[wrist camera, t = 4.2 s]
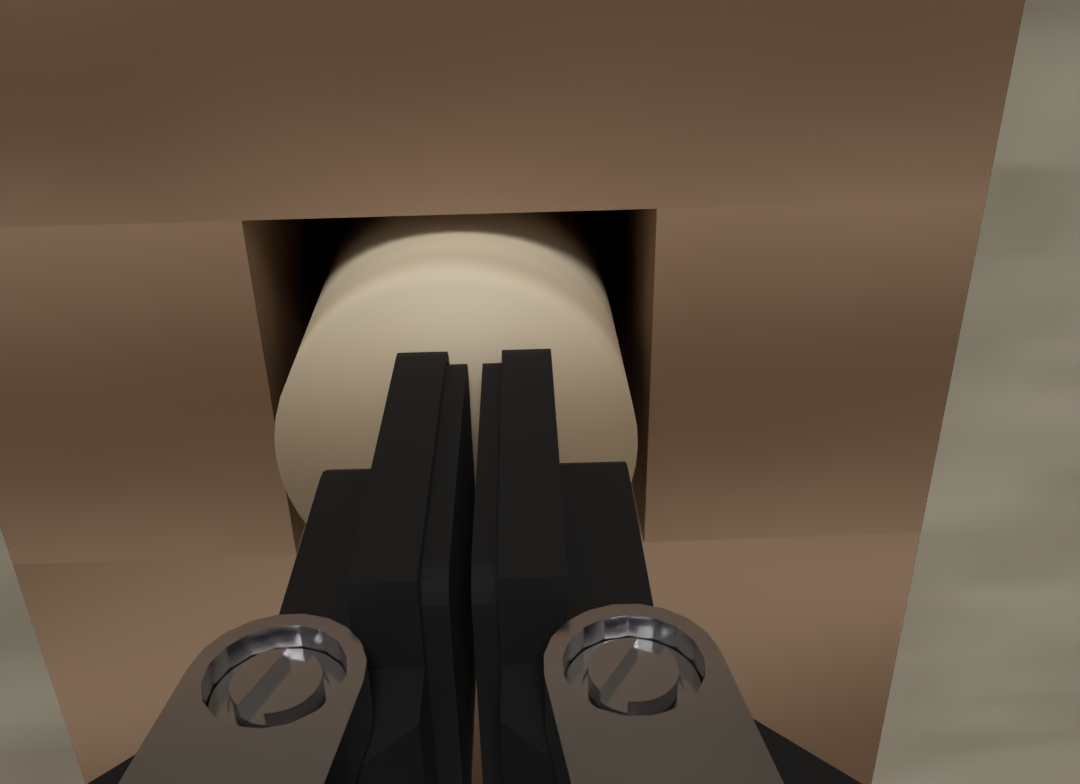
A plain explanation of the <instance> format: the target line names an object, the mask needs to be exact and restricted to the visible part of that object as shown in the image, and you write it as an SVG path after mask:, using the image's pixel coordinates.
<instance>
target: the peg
mask: <svg viewBox="0 0 1080 784" xmlns="http://www.w3.org/2000/svg"><path fill="white" fill-rule="evenodd" d="M519 349H551V356H552V369H553V382H554V395H555V408H556V421H557V434H558V447H559V461H560V463H581V462H616V461H625V462H626V463H627V466H628V470H629V476H630V481H631V482H632V478H633V474H634V470H635V467H636V459H637V449H638V437H637V423H636V418H635V413H634V408H633V404H632V399H631V395H630V391H629V386H628V382H627V378H626V373H625V369H624V365H623V360H622V356H621V352H620V347H619V343H618V339H617V334H616V330H615V326H614V321H613V317H612V313H611V308H610V304H609V300H608V295H607V291H606V287H605V283H604V278H603V274H602V270H601V265H600V261H599V257H598V252H597V248H596V244H595V239H594V235H593V231H592V226H591V223H590V220H589V218H588V215H587V212H586V211H560V212H525V213H490V214H455V215H420V216H385V217H350V219H349V222H348V224H347V227H346V229H345V232H344V234H343V237H342V240H341V242H340V245H339V247H338V250H337V252H336V255H335V258H334V260H333V263H332V265H331V268H330V270H329V273H328V276H327V278H326V281H325V283H324V286H323V288H322V291H321V293H320V296H319V299H318V301H317V304H316V306H315V309H314V311H313V314H312V317H311V319H310V322H309V324H308V327H307V329H306V332H305V335H304V337H303V340H302V342H301V345H300V347H299V350H298V353H297V355H296V358H295V360H294V363H293V365H292V368H291V371H290V373H289V376H288V378H287V381H286V383H285V386H284V389H283V391H282V394H281V396H280V400H279V405H278V409H277V414H276V420H275V435H274V440H275V451H276V460H277V464H278V468H279V472H280V476H281V479H282V482H283V484H284V487H285V489H286V491H287V494H288V496H289V498H290V500H291V502H292V503H293V505H294V507H295V508H296V510H297V512H298V514H299V515H300V516H301V518H302V519H303V520H304V522H305V523H307V520H308V516H309V513H310V510H311V507H312V503H313V500H314V497H315V493H316V490H317V487H318V483H319V480H320V478H321V475H322V473H323V471H325V470H335V469H370V468H371V466H372V461H373V457H374V453H375V448H376V444H377V439H378V435H379V430H380V426H381V421H382V417H383V413H384V408H385V404H386V399H387V395H388V390H389V386H390V382H391V377H392V373H393V368H394V364H395V359H396V356H397V353H408V352H445V351H447V352H448V355H449V363H450V364H467V366H468V375H469V391H470V408H471V426H472V443H473V460H474V478H475V487H476V470H477V452H478V434H479V417H480V399H481V382H482V365H483V363H502V350H519Z"/></svg>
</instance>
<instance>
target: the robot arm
mask: <svg viewBox="0 0 1080 784" xmlns="http://www.w3.org/2000/svg"><path fill="white" fill-rule="evenodd" d="M476 684H477V700H478V715H479V731H480V747H481V762H482V778H483V784H862V783H860V782H858V781H857V780H855V779H853V778H852V777H850V776H848V775H847V774H845V773H843V772H842V771H840V770H838V769H837V768H835V767H833V766H832V765H830V764H828V763H827V762H825V761H823V760H822V759H820V758H818V757H817V756H815V755H813V754H812V753H810V752H808V751H807V750H805V749H803V748H802V747H800V746H798V745H797V744H795V743H793V742H792V741H790V740H788V739H787V738H785V737H783V736H782V735H780V734H778V733H777V732H775V731H773V730H772V729H770V728H768V727H767V726H765V725H763V724H762V723H760V722H758V721H757V720H755V719H753V718H752V716H751V713H750V711H749V709H748V707H747V705H746V703H745V701H744V699H743V697H742V695H741V692H740V690H739V688H738V686H737V684H736V682H735V680H734V678H733V676H732V674H731V671H730V669H729V667H728V665H727V663H726V661H725V659H724V657H723V655H722V653H721V651H720V649H719V648H718V646H717V645H716V644H715V642H714V641H713V639H712V638H711V637H710V635H709V634H708V633H707V632H706V631H705V630H703V629H702V628H701V627H699V626H698V625H697V624H695V623H694V622H693V621H691V620H690V619H689V618H686V617H684V616H682V615H679V614H677V613H674V612H672V611H670V610H667V609H665V608H659V607H654V605H653V600H652V595H651V589H650V584H649V578H648V573H647V568H646V562H645V557H644V551H643V546H642V541H641V535H640V530H639V524H638V519H637V514H636V508H635V503H634V497H633V492H632V486H631V481H630V476H629V470H628V466H627V463H626V462H625V461H616V462H581V463H560V461H559V447H558V434H557V421H556V408H555V395H554V382H553V369H552V356H551V349H519V350H502V363H483V365H482V382H481V399H480V417H479V434H478V452H477V470H476V487H475V478H474V460H473V443H472V426H471V408H470V391H469V375H468V366H467V364H450V363H449V355H448V352H447V351H445V352H408V353H397V356H396V359H395V364H394V368H393V373H392V377H391V382H390V386H389V390H388V395H387V399H386V404H385V408H384V413H383V417H382V421H381V426H380V430H379V435H378V439H377V444H376V448H375V453H374V457H373V461H372V466H371V468H370V469H335V470H325V471H323V473H322V475H321V478H320V480H319V483H318V487H317V490H316V493H315V497H314V500H313V503H312V507H311V510H310V513H309V516H308V520H307V523H306V526H305V530H304V533H303V536H302V540H301V543H300V546H299V550H298V553H297V556H296V560H295V563H294V566H293V569H292V573H291V576H290V579H289V583H288V586H287V589H286V593H285V596H284V599H283V603H282V606H281V609H280V613H279V615H274V616H270V617H266V618H262V619H257V620H253V621H250V622H248V623H245V624H243V625H241V626H239V627H236V628H234V629H232V630H230V631H228V632H225V633H224V634H223V635H221V636H220V637H219V638H217V639H216V640H214V641H213V642H212V643H210V644H209V645H208V646H206V647H205V648H204V649H203V650H202V651H201V652H200V653H199V655H198V656H197V657H196V658H195V660H194V661H193V662H192V663H191V664H190V666H189V667H188V668H187V670H186V672H185V673H184V675H183V677H182V678H181V680H180V682H179V683H178V685H177V687H176V688H175V690H174V692H173V693H172V695H171V697H170V698H169V700H168V702H167V703H166V705H165V707H164V708H163V710H162V712H161V713H160V715H159V717H158V718H157V720H156V722H155V723H154V725H153V727H152V728H151V730H150V731H149V733H148V735H147V736H146V738H145V740H144V741H143V743H142V745H141V746H140V748H139V750H138V751H137V753H136V754H135V755H133V756H132V757H130V758H129V759H127V760H125V761H124V762H122V763H120V764H119V765H117V766H115V767H114V768H112V769H111V770H109V771H107V772H106V773H104V774H102V775H101V776H99V777H98V778H96V779H94V780H93V781H91V782H89V783H88V784H472V762H473V739H474V716H475V693H476Z"/></svg>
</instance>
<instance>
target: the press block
mask: <svg viewBox="0 0 1080 784" xmlns="http://www.w3.org/2000/svg"><path fill="white" fill-rule="evenodd" d="M1024 3H1025V0H0V527H1V530H2V533H3V536H4V539H5V542H6V545H7V548H8V551H9V554H10V557H11V560H12V563H13V566H14V569H15V572H16V575H17V578H18V581H19V584H20V587H21V590H22V593H23V596H24V599H25V602H26V605H27V608H28V611H29V614H30V617H31V620H32V623H33V626H34V629H35V632H36V636H37V639H38V642H39V645H40V648H41V651H42V654H43V657H44V660H45V663H46V666H47V669H48V672H49V675H50V678H51V681H52V684H53V687H54V690H55V693H56V696H57V699H58V702H59V705H60V708H61V711H62V714H63V717H64V720H65V723H66V726H67V729H68V732H69V735H70V738H71V741H72V744H73V747H74V750H75V753H76V756H77V759H78V762H79V765H80V768H81V771H82V774H83V777H84V780H85V783H86V784H88V783H89V782H91V781H93V780H94V779H96V778H98V777H99V776H101V775H102V774H104V773H106V772H107V771H109V770H111V769H112V768H114V767H115V766H117V765H119V764H120V763H122V762H124V761H125V760H127V759H129V758H130V757H132V756H133V755H135V754H136V753H137V751H138V750H139V748H140V746H141V745H142V743H143V741H144V740H145V738H146V736H147V735H148V733H149V731H150V730H151V728H152V727H153V725H154V723H155V722H156V720H157V718H158V717H159V715H160V713H161V712H162V710H163V708H164V707H165V705H166V703H167V702H168V700H169V698H170V697H171V695H172V693H173V692H174V690H175V688H176V687H177V685H178V683H179V682H180V680H181V678H182V677H183V675H184V673H185V672H186V670H187V668H188V667H189V666H190V664H191V663H192V662H193V661H194V660H195V658H196V657H197V656H198V655H199V653H200V652H201V651H202V650H203V649H204V648H205V647H206V646H208V645H209V644H210V643H212V642H213V641H214V640H216V639H217V638H219V637H220V636H221V635H223V634H224V633H225V632H228V631H230V630H232V629H234V628H236V627H239V626H241V625H243V624H245V623H248V622H250V621H253V620H257V619H262V618H266V617H270V616H274V615H279V613H280V609H281V606H282V603H283V599H284V596H285V593H286V589H287V586H288V583H289V579H290V576H291V573H292V569H293V566H294V563H295V560H296V556H297V553H298V550H299V546H300V543H301V540H302V536H303V533H304V530H305V526H306V523H305V522H304V520H303V519H302V518H301V516H300V515H299V514H298V512H297V510H296V508H295V507H294V505H293V503H292V502H291V500H290V498H289V496H288V494H287V491H286V489H285V487H284V484H283V482H282V479H281V476H280V472H279V468H278V464H277V460H276V451H275V440H274V435H275V420H276V414H277V409H278V405H279V400H280V396H281V394H282V391H283V389H284V386H285V383H286V381H287V378H288V376H289V373H290V371H291V368H292V365H293V363H294V360H295V358H296V355H297V353H298V350H299V347H300V345H301V342H302V340H303V337H304V335H305V332H306V329H307V327H308V324H309V322H310V319H311V317H312V314H313V311H314V309H315V306H316V304H317V301H318V299H319V296H320V293H321V291H322V288H323V286H324V283H325V281H326V278H327V276H328V273H329V270H330V268H331V265H332V263H333V260H334V258H335V255H336V252H337V250H338V247H339V245H340V233H339V225H338V218H350V217H385V216H420V215H455V214H490V213H525V212H560V211H595V210H606V247H605V287H606V291H607V295H608V300H609V304H610V308H611V313H612V317H613V321H614V326H615V330H616V334H617V339H618V343H619V347H620V352H621V356H622V360H623V365H624V369H625V373H626V378H627V382H628V386H629V391H630V395H631V399H632V404H633V408H634V413H635V418H636V423H637V437H638V449H637V459H636V467H635V470H634V474H633V478H632V482H631V486H632V492H633V497H634V503H635V508H636V514H637V519H638V524H639V530H640V535H641V541H642V546H643V551H644V557H645V562H646V568H647V573H648V578H649V584H650V589H651V595H652V600H653V605H654V607H659V608H665V609H667V610H670V611H672V612H674V613H677V614H679V615H682V616H684V617H686V618H689V619H690V620H691V621H693V622H694V623H695V624H697V625H698V626H699V627H701V628H702V629H703V630H705V631H706V632H707V633H708V634H709V635H710V637H711V638H712V639H713V641H714V642H715V644H716V645H717V646H718V648H719V649H720V651H721V653H722V655H723V657H724V659H725V661H726V663H727V665H728V667H729V669H730V671H731V674H732V676H733V678H734V680H735V682H736V684H737V686H738V688H739V690H740V692H741V695H742V697H743V699H744V701H745V703H746V705H747V707H748V709H749V711H750V713H751V716H752V718H753V719H755V720H757V721H758V722H760V723H762V724H763V725H765V726H767V727H768V728H770V729H772V730H773V731H775V732H777V733H778V734H780V735H782V736H783V737H785V738H787V739H788V740H790V741H792V742H793V743H795V744H797V745H798V746H800V747H802V748H803V749H805V750H807V751H808V752H810V753H812V754H813V755H815V756H817V757H818V758H820V759H822V760H823V761H825V762H827V763H828V764H830V765H832V766H833V767H835V768H837V769H838V770H840V771H842V772H843V773H845V774H847V775H848V776H850V777H852V778H853V779H855V780H857V781H858V782H860V783H862V784H871V783H872V778H873V773H874V767H875V762H876V757H877V752H878V747H879V742H880V737H881V732H882V727H883V722H884V716H885V711H886V706H887V701H888V696H889V691H890V686H891V681H892V676H893V671H894V666H895V660H896V655H897V650H898V645H899V640H900V635H901V630H902V625H903V620H904V615H905V610H906V604H907V599H908V594H909V589H910V584H911V579H912V574H913V569H914V564H915V559H916V553H917V548H918V543H919V538H920V533H921V528H922V523H923V518H924V513H925V508H926V503H927V497H928V492H929V487H930V482H931V477H932V472H933V467H934V462H935V457H936V452H937V446H938V441H939V436H940V431H941V426H942V421H943V416H944V411H945V406H946V401H947V396H948V390H949V385H950V380H951V375H952V370H953V365H954V360H955V355H956V350H957V345H958V339H959V334H960V329H961V324H962V319H963V314H964V309H965V304H966V299H967V294H968V289H969V283H970V278H971V273H972V268H973V263H974V258H975V253H976V248H977V243H978V238H979V232H980V227H981V222H982V217H983V212H984V207H985V202H986V197H987V192H988V187H989V182H990V176H991V171H992V166H993V161H994V156H995V151H996V146H997V141H998V136H999V131H1000V125H1001V120H1002V115H1003V110H1004V105H1005V100H1006V95H1007V90H1008V85H1009V80H1010V75H1011V69H1012V64H1013V59H1014V54H1015V49H1016V44H1017V39H1018V34H1019V29H1020V24H1021V18H1022V13H1023V8H1024ZM472 784H483V778H482V762H481V747H480V731H479V715H478V700H477V684H476V693H475V716H474V739H473V762H472Z"/></svg>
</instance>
